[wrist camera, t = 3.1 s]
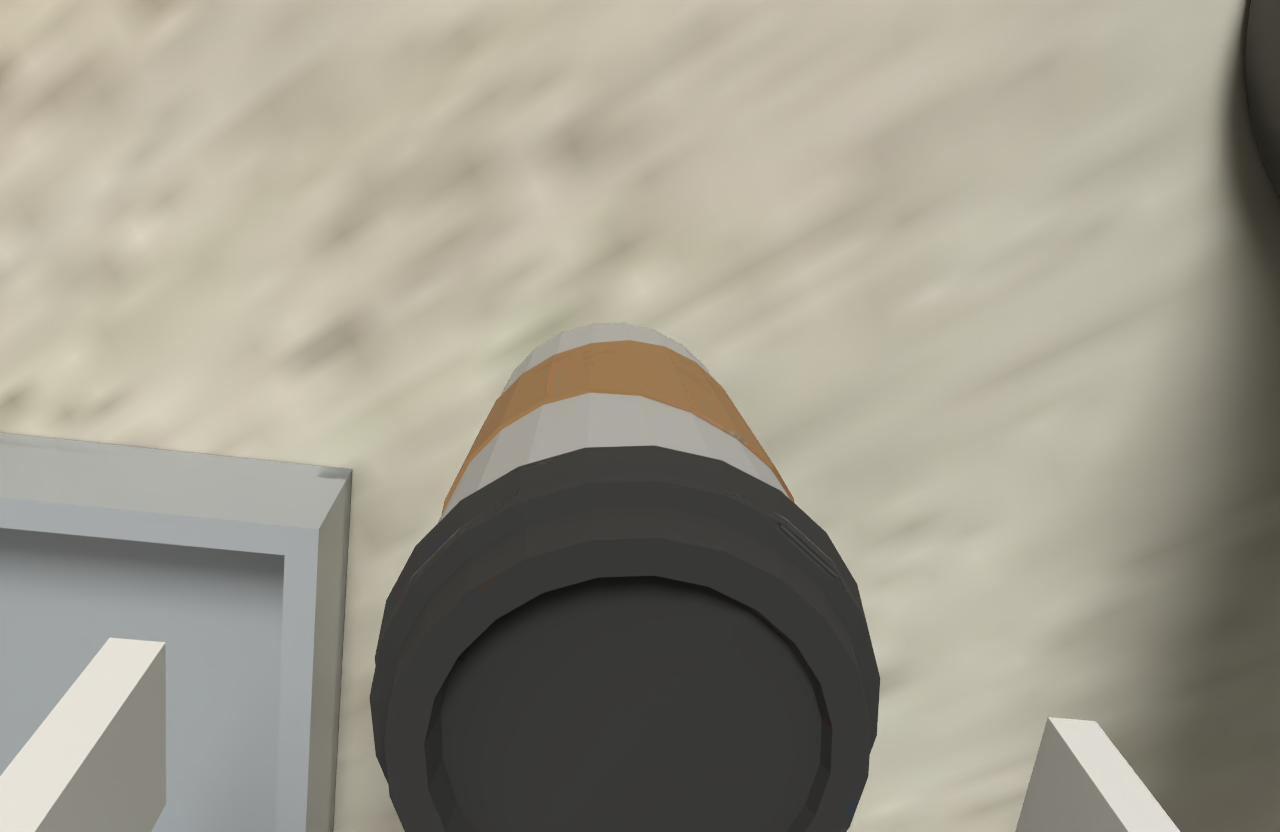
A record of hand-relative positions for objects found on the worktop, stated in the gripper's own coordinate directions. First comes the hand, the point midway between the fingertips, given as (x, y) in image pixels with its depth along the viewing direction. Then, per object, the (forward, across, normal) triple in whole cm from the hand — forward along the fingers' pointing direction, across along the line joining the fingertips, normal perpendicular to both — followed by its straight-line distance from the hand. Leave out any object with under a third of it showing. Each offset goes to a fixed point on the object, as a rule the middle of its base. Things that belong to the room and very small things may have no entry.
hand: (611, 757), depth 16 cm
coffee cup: (+15, 0, 0) cm, 15 cm away
